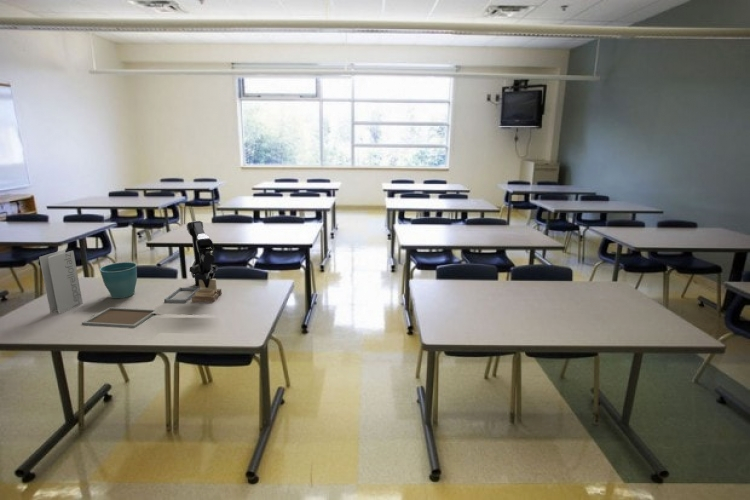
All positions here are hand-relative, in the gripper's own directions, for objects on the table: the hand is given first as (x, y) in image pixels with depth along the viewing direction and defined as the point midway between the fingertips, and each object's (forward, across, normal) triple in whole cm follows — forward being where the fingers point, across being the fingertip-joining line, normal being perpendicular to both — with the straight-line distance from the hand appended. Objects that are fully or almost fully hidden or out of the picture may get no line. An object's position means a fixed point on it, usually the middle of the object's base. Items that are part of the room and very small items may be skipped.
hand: (208, 286), depth 239 cm
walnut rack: (+7, +2, 0) cm, 7 cm away
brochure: (+7, +16, -69) cm, 71 cm away
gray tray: (+7, 0, -14) cm, 16 cm away
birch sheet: (+6, 0, 0) cm, 6 cm away
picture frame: (+8, +28, -35) cm, 45 cm away
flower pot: (+7, -4, -51) cm, 52 cm away
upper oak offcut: (+3, +5, 0) cm, 6 cm away
